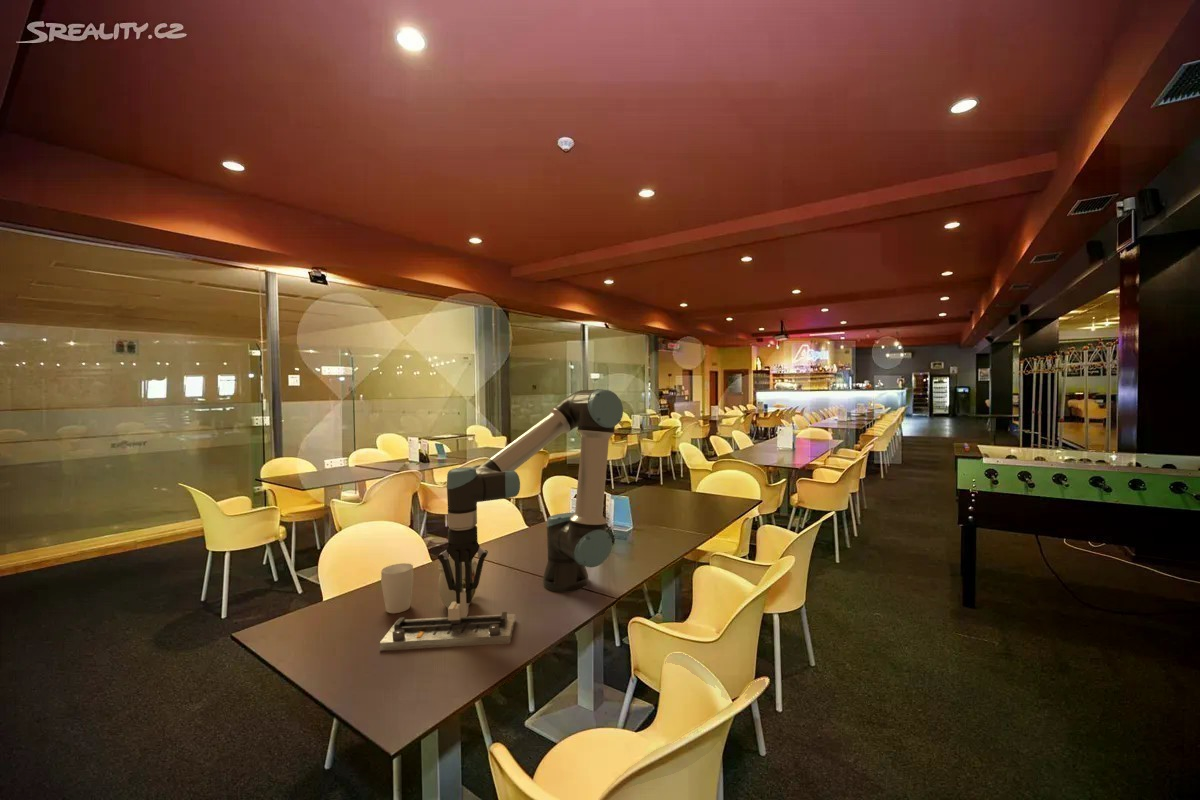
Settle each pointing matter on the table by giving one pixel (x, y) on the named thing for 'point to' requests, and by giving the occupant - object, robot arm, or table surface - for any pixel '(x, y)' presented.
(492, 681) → the table surface
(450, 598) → the pitcher
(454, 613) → the fader
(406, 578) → the cup
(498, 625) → the console
